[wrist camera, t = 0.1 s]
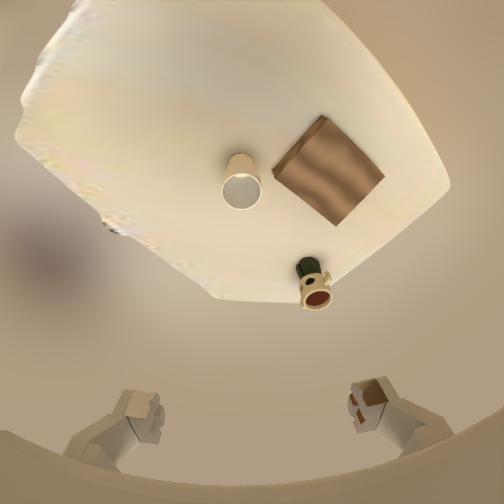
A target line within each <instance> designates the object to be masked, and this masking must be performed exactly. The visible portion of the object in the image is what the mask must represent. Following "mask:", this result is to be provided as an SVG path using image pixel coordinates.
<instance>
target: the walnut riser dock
mask: <svg viewBox="0 0 504 504" xmlns="http://www.w3.org/2000/svg"><path fill="white" fill-rule="evenodd" d="M272 172H273V174H274V177H275V179H276V180H278V181H279V182H280V183H282V184H283V185H284V186H286V187H287V188H288V189H289V190H291V191H292V192H293V193H295V194H296V195H297V196H299V197H300V198H301V199H302V200H304V201H305V202H306V203H307V204H309V205H310V206H311V207H312V208H314V209H315V210H316V211H317V212H319V213H320V214H321V215H322V216H324V217H325V218H326V219H327V220H328V221H330V222H331V223H332V224H333V225H335V226H337V225H338V224H339V223H340V222H341V221H342V220H343V219H344V218H345V217H346V216H347V215H348V214H349V213H350V212H351V211H352V210H353V209H354V208H355V207H356V206H357V205H358V204H359V203H360V202H361V201H362V200H363V199H364V198H365V197H366V196H367V195H368V194H369V193H370V192H371V191H372V190H373V188H374V187H375V186H376V185H377V184H378V183H379V182H380V181H381V180H382V179H383V178H384V177H385V176H384V174H383V173H382V172H381V171H380V170H379V169H378V168H377V167H376V166H375V164H374V163H373V162H372V161H371V160H370V159H369V158H368V157H367V156H366V155H365V154H364V153H363V152H362V151H361V150H360V149H359V148H358V147H357V146H356V144H355V143H354V142H353V141H352V140H351V139H350V138H349V137H347V136H346V135H345V134H344V133H343V132H342V131H341V130H340V129H339V128H338V127H337V126H336V125H335V124H334V123H333V122H332V121H331V120H330V119H328V118H326V117H324V116H322V115H321V116H320V117H319V118H318V119H317V121H316V122H315V123H314V124H313V125H312V126H311V127H310V128H309V129H308V130H307V132H306V133H305V134H304V135H303V136H302V137H301V138H300V139H299V141H298V142H297V143H296V144H295V145H294V146H293V147H292V148H291V150H290V151H289V152H288V153H287V154H286V155H285V156H284V158H283V159H282V160H281V161H280V162H279V163H278V164H277V166H276V167H275V168H274V169H273V170H272Z"/></svg>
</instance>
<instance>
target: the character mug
mask: <svg viewBox="0 0 504 504" xmlns="http://www.w3.org/2000/svg"><path fill="white" fill-rule="evenodd" d="M300 264H301V265H300V267H299V266H298V264H297V267H296V270H297V273H298V275H299V278H300V280H301V281H300V284H299V290H300V294H301V300H300V303H301V307H302V308H303V309H305V308H307V309H308V310H311V311H320V310H322V309H325V308H326V307H328V306H329V305H330V304H331V302H332V300H333V295H332V292H331V290H330V287H329V283H330V282H331V280H332V279H331V276H330V274H329V272H328V271H327V272H325V273H324V274H323V275H322V274H321V269H320V265H319V262H318V261H317V260H316V259H313V258H305V259H303V260H301V261H300ZM326 277H327V279H326Z"/></svg>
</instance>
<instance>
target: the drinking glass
mask: <svg viewBox="0 0 504 504" xmlns="http://www.w3.org/2000/svg"><path fill="white" fill-rule="evenodd" d="M221 195H222V198H223V200H224V202H225V203H226V204H227V205H228V206H229V207H231V208H233V209H236V210H247V209H250V208H252V207H254V206H255V205H256V204H257V203H258V202H259V200H260V198H261V196H262V184H261V180H260V176H259V174H258V172H257V170H256V168H255V166H254V163H253V160H252V159H251V158H250V157H249V156H248V155H246V154H236V155H234V156H233V157H232V158H231V159H230V160H229V163H228V166H227V169H226V171H225V173H224V176H223V179H222V184H221Z"/></svg>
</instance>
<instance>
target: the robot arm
mask: <svg viewBox="0 0 504 504" xmlns="http://www.w3.org/2000/svg"><path fill="white" fill-rule="evenodd" d="M351 391H352V393H351V394H350V396H349V398H348V409H349V413H350V415H351V416H353V417H354V418H355V419H354V425H355V428H356V430H357V433H363V432H367V431H372V430H376V431H377V432H379V433H380V434H381V435H382V436H384V437H385V438H386V439H388V440H389V441H391V442H392V443H393V444H395V445H396V446H398V447H399V448H400V449H402V450H403V451H402V453H401V454H400V456H399V458H397V459H394V460H392V461H388V462H386V463H382V464H379V465H376V466H372V467H369V468H365V469H361V470H357V471H353V472H349V473H345V474H340V475H335V476H329V477H324V478H318V479H313V480H306V481H298V482H290V483H280V484H267V485H247V486H222V485H221V486H220V485H199V484H187V483H177V482H169V481H161V480H155V479H148V478H143V477H138V476H132V475H128V474H123V473H121V472H120V471H119V469H118V468H117V467H116V465H117V464H118V463H119V462H120V461H121V460H122V459H124V458H125V457H126V456H127V455H128V454H129V453H130V452H131V451H132V450H133V449H134V448H135V447H137V446H138V445H139V444H140V442H144V443H153V444H158V443H159V439H160V436H161V431H160V429H159V428H160V427H162V426H163V424H164V421H165V412H164V408H163V406H162V405H161V404H160V403H159V401H160V397H159V395H158V393H153V392H144V391H136V390H128V389H125V390H124V391H123V392H122V394H121V396H120V398H119V400H118V402H117V404H116V406H115V409H114V411H113V413H112V414H108V415H106V416H105V417H103V418H102V419H100V420H98V421H97V422H95V423H93V424H92V425H90V426H89V427H87V428H85V429H84V430H82V431H80V432H79V433H77V434H75V435H74V436H72V438H71V440H70V442H69V444H68V445H67V447H66V450H65V451H64V453H63V455H60V454H57V453H55V452H52V451H50V450H48V449H45V448H43V447H41V446H38V445H36V444H34V443H32V442H29V441H27V440H25V439H23V438H21V437H19V436H17V435H15V434H14V433H12V432H9V431H7V430H2V431H0V504H504V407H502V408H500V409H499V410H497V411H496V412H494V413H493V414H491V415H489V416H488V417H486V418H484V419H483V420H481V421H479V422H478V423H476V424H474V425H472V426H471V427H469V428H467V429H465V430H463V431H461V432H459V433H457V434H454V433H453V431H452V430H451V428H450V427H449V425H448V424H447V422H446V421H445V419H444V418H443V417H442V416H440V415H438V414H435V413H433V412H431V411H429V410H427V409H425V408H423V407H420V406H418V405H416V404H414V403H412V402H410V401H408V400H406V399H404V398H402V399H400V397H399V396H398V394H397V392H396V391H395V389H394V388H393V386H392V384H391V383H390V381H389V380H388V378H387V377H386V376H381V377H377V378H372V379H367V380H363V381H358V382H353V383H352V386H351Z"/></svg>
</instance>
